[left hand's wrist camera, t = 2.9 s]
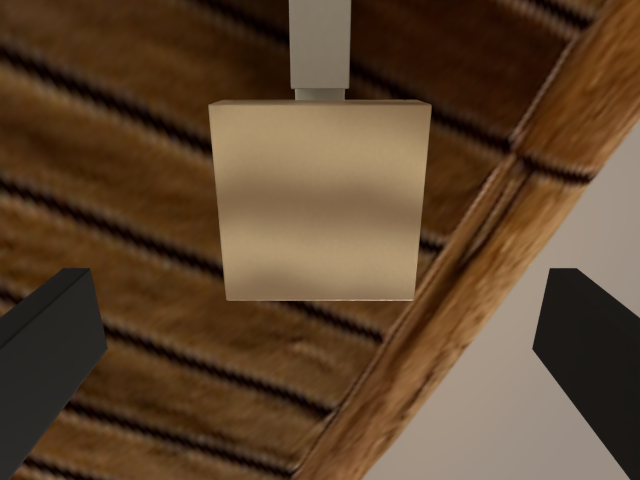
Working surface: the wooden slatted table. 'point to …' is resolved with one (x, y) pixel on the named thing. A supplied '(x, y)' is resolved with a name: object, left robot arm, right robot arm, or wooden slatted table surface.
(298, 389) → the wooden slatted table surface
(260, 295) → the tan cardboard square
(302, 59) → the toy wooden mallet
